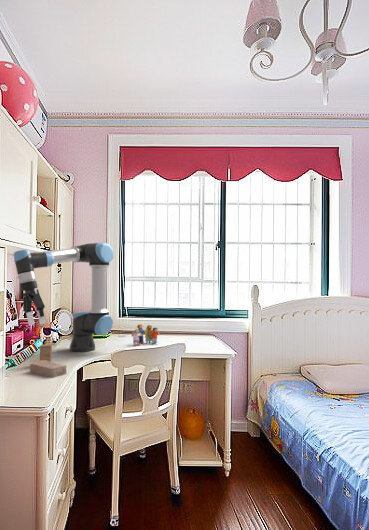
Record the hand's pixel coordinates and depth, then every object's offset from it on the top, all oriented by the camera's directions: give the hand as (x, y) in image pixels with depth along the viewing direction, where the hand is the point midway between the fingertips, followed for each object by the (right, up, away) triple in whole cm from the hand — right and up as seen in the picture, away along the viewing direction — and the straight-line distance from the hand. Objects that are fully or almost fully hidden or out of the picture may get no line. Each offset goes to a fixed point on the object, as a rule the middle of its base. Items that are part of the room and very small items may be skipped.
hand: (37, 324), depth 182 cm
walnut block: (+2, -22, +6) cm, 23 cm away
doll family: (+44, -24, +68) cm, 85 cm away
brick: (+8, -22, -8) cm, 25 cm away
